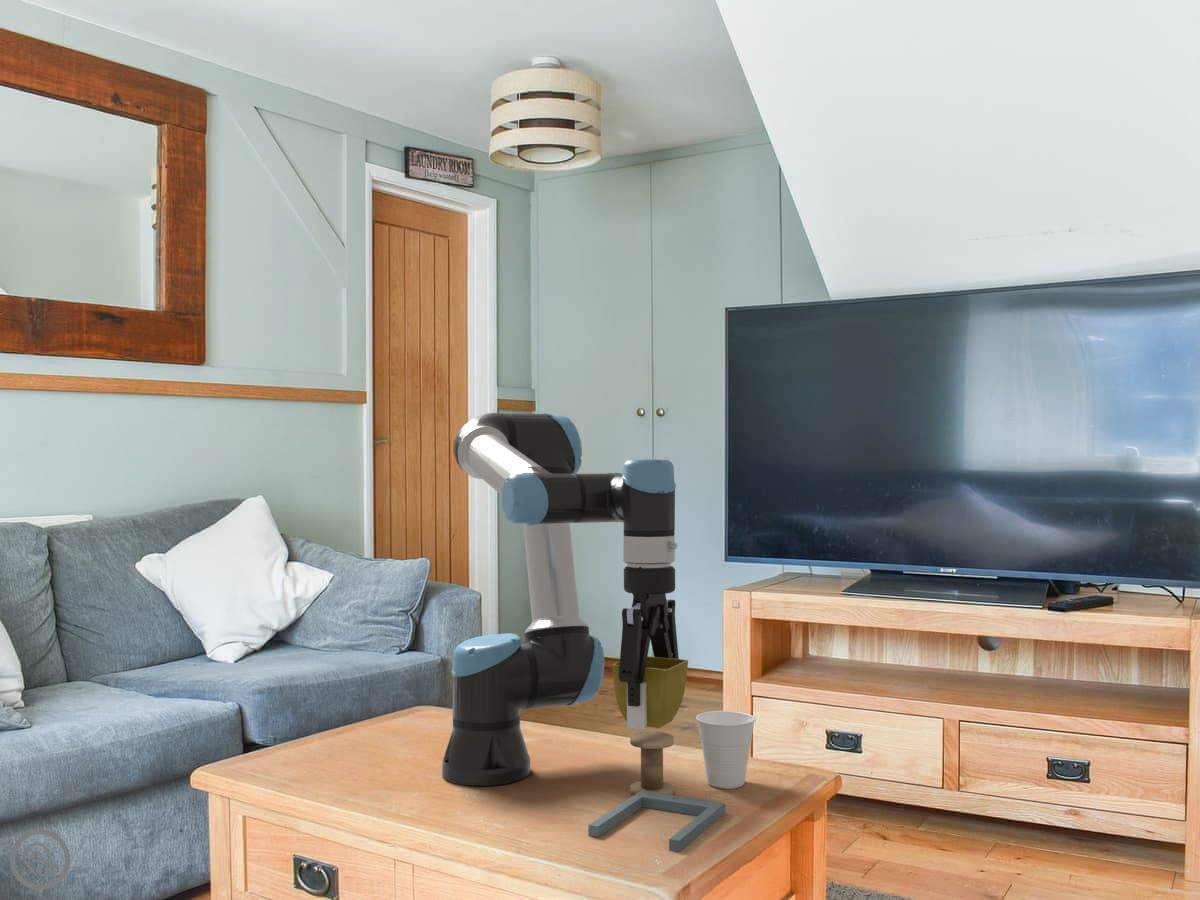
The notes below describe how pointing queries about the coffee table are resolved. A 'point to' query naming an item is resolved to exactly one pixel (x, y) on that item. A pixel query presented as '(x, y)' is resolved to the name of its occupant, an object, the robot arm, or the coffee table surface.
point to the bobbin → (651, 762)
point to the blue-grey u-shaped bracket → (701, 808)
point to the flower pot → (657, 689)
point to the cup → (725, 746)
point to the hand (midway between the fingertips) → (650, 721)
